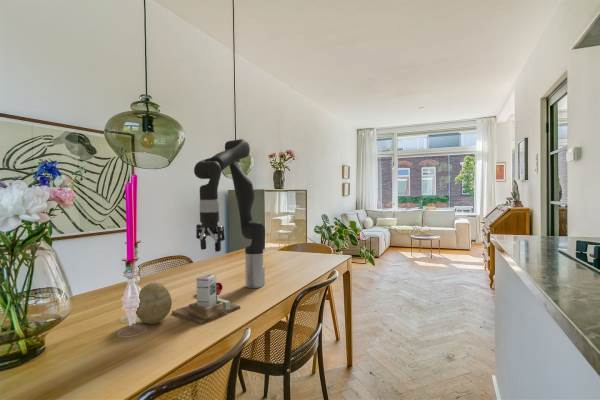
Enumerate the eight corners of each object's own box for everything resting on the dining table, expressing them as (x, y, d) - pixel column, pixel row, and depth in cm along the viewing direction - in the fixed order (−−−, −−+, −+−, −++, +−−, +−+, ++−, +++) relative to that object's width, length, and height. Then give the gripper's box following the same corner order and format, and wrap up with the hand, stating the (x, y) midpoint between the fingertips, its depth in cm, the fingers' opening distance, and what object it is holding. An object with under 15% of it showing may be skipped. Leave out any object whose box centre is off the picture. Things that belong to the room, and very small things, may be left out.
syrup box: (210, 315, 128) (209, 277, 128) (196, 314, 130) (196, 277, 129) (217, 310, 134) (217, 274, 133) (204, 309, 135) (203, 273, 135)
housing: (211, 300, 149) (211, 289, 149) (240, 308, 139) (240, 297, 139) (171, 313, 133) (171, 302, 133) (201, 324, 123) (200, 311, 123)
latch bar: (213, 304, 140) (213, 296, 140) (230, 308, 135) (230, 301, 134) (209, 305, 138) (209, 298, 138) (225, 310, 133) (225, 302, 132)
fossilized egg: (177, 322, 124) (177, 282, 124) (142, 332, 116) (141, 289, 115) (163, 313, 134) (163, 276, 133) (129, 322, 125) (129, 282, 124)
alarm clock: (192, 290, 154) (205, 275, 168) (194, 302, 155) (206, 286, 170) (214, 290, 153) (225, 275, 167) (215, 303, 154) (226, 286, 169)
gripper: (190, 211, 136) (191, 250, 137) (214, 212, 128) (215, 253, 129) (204, 209, 142) (206, 247, 143) (228, 210, 134) (229, 250, 135)
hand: (210, 250), depth 136 cm, fingers open, 8 cm apart
